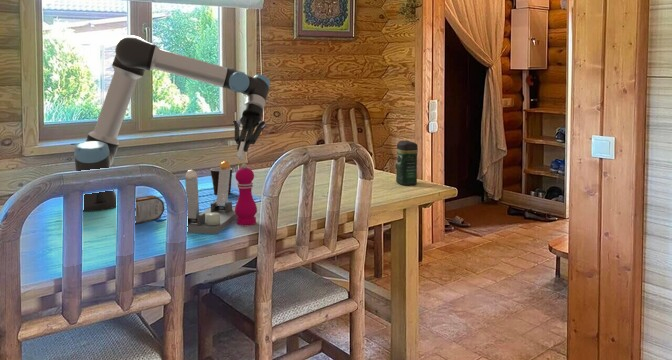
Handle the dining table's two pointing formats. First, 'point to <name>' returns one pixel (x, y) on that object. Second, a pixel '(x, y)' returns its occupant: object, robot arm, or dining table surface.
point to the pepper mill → (245, 197)
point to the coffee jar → (406, 163)
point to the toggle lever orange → (223, 186)
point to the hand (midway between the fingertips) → (239, 157)
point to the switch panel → (201, 226)
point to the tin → (148, 208)
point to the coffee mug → (216, 177)
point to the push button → (212, 218)
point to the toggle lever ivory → (192, 195)
